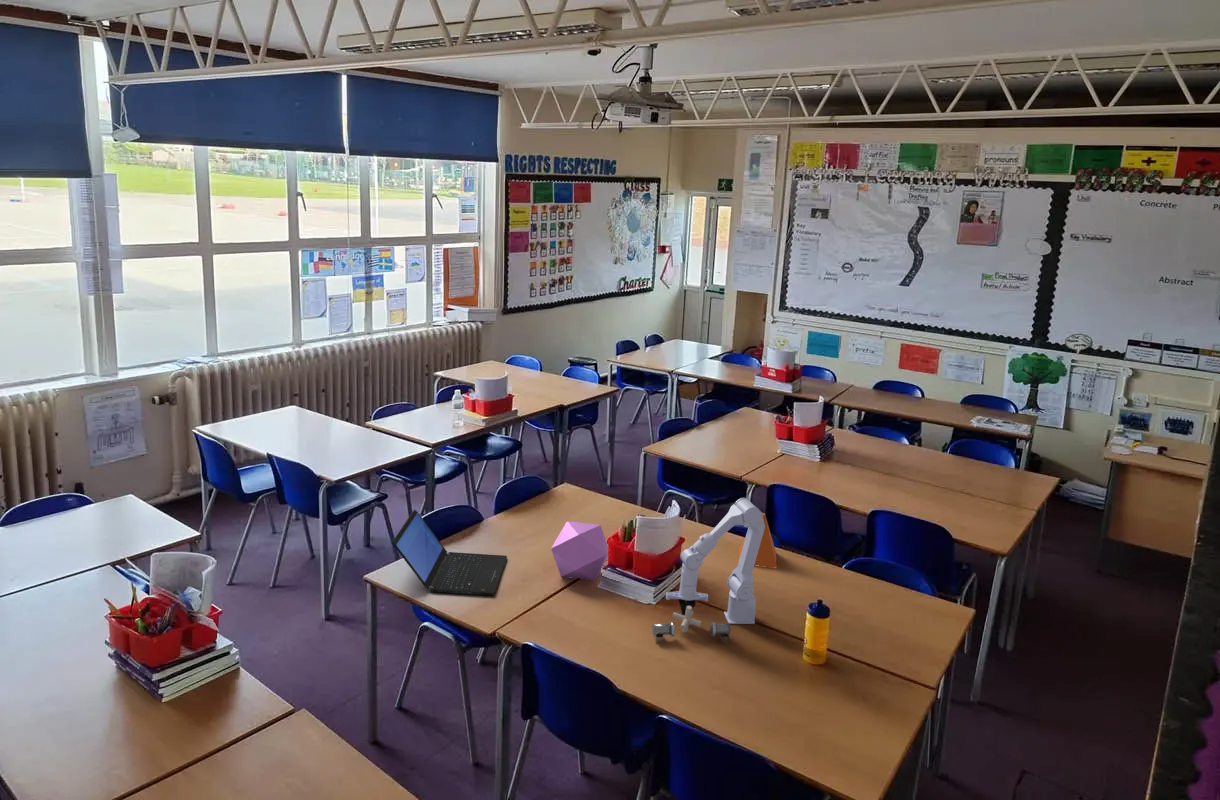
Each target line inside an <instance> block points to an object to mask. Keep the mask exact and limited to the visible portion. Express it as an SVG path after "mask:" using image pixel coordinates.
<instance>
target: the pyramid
mask: <svg viewBox="0 0 1220 800" xmlns="http://www.w3.org/2000/svg"><path fill="white" fill-rule="evenodd" d="M762 513H763V520H764V524H765V529H764V533H763V536H762V540H761V543H760V547H759V550H758V554H757V557H756V561H755V564H754V565H759V566H766V567H776V568H777V569H778V564H777V565H776V560H777V551H776V547H775V545H774V540H773V538H772V534H771V531H770V527H769V526H770V525H769V523H768V520H767V517H766V513H765V512H762ZM745 538H746V536H745V537H744V539H743V541H742V543H741V544H740V546H739V547H738V555H739V558H738V557H737V558H738V559H737V560H738V561H737V564H738V563H739V559H740V556H741V552H742V549H743V545H744V541H745ZM766 567H765V568H766Z"/></svg>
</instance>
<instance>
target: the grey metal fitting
mask: <svg viewBox="0 0 1220 800" xmlns="http://www.w3.org/2000/svg"><path fill="white" fill-rule="evenodd" d="M651 627H652V628H651V629H652V635H653V638H654V642H655V644H664V636H670V637H673V638H675V635H676V625H675V622H674V621H670V622H669V623H652V626H651Z"/></svg>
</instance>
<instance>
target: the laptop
mask: <svg viewBox="0 0 1220 800" xmlns="http://www.w3.org/2000/svg"><path fill="white" fill-rule="evenodd" d="M391 544H392V545H393V547H394V548H395V550H397V552H398V554H399V555H400V556H401V558H402V559H403V560H404V562H406V563H407V565H408V566H409V568H410V569H411V571H412V572H413V573H414V574H415V575H416V577H417V578H418V580H419V581H420V582H421V583H422V585H423V586H424V588H425V589H426V590H427V591H428V590H429V591H430V592H433V593H448V594H449V593H450V594H457V595H458V594H465V595H479V596H480V595H481V596H483V595H484V596H495V595H496V591H497V588H498V586H499V584H500V581H501V577H502V574H503V573H504V568H505V566H506V562H507V559H508V556H507V555H502V554H499V555H498V554H487V553H486V554H483V553H469V552H467V553H466V552H454V551H449V552H448V551H447V550H446V548H445V547H444V546H443V544H442V542H441V541H440V540H439V539H438V537H437V536H436V534H435V533H434V532H433V530H432V529H431V528H430V526H429V525H428V523H427V522H426V521H425V519H424V518H423V517H422V516H421V514H419V512H418V511H417V510H416V509H413V511H412V512H411V514H410V515H409V516H408V517H407V520H406V521H405V522H404V524H403V525H402V527H400V529H399V531H398V532H397V534H396V535H395V537H394V539H393V540H392V541H391Z"/></svg>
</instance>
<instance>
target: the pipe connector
mask: <svg viewBox="0 0 1220 800" xmlns="http://www.w3.org/2000/svg"><path fill="white" fill-rule="evenodd" d="M694 611H695V610H694V609H692V607H691V606H687V608H686V613H685V616H684V615H682V613H678V612H675V611H673V613H672V615H671V616H672V618H673V619H677V620H679V621H682V623H681V625H680V626H679V628H680V630H682V631H681V632H682V633H683V634H687V633H688V631H689V626H690V625H694V626H697V627H701V626H702V624H703V623H702V622H703V621H701V620H698V619H696V618H692V617H693V614H694Z"/></svg>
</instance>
